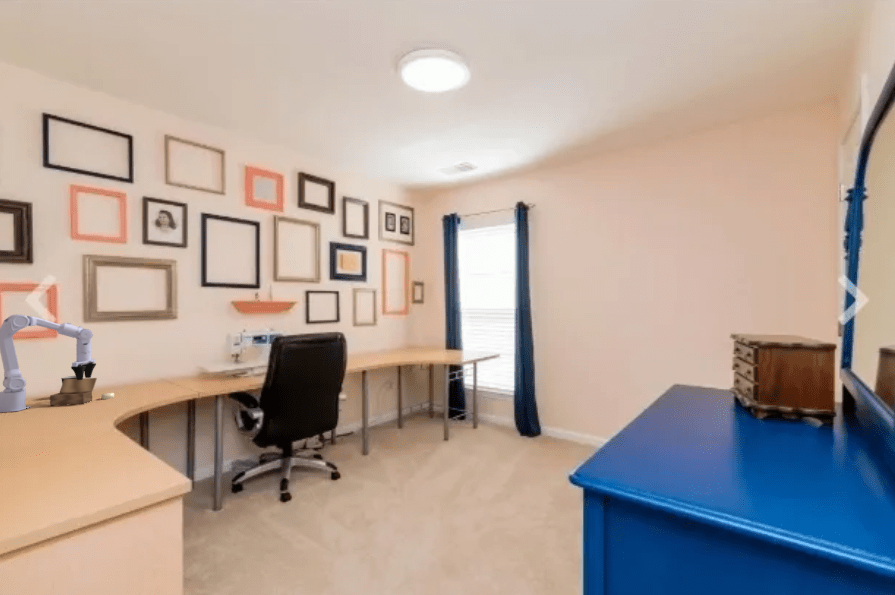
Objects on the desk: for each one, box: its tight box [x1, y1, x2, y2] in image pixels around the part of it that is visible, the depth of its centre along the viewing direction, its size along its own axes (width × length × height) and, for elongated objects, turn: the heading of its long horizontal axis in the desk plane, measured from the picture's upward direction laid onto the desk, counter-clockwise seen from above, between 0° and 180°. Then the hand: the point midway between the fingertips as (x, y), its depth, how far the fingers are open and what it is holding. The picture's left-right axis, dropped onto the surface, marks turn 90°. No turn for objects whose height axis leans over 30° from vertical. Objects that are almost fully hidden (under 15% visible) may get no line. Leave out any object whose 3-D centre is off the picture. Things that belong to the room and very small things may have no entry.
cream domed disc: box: [100, 392, 115, 400], centre depth 218 cm, size 5×5×2 cm
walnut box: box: [49, 391, 93, 406], centre depth 207 cm, size 14×6×5 cm, turn 101°
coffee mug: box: [61, 375, 77, 385], centre depth 224 cm, size 12×9×10 cm
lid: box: [59, 377, 98, 393], centre depth 212 cm, size 14×7×1 cm
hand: (84, 378), depth 216 cm, fingers open, 6 cm apart
